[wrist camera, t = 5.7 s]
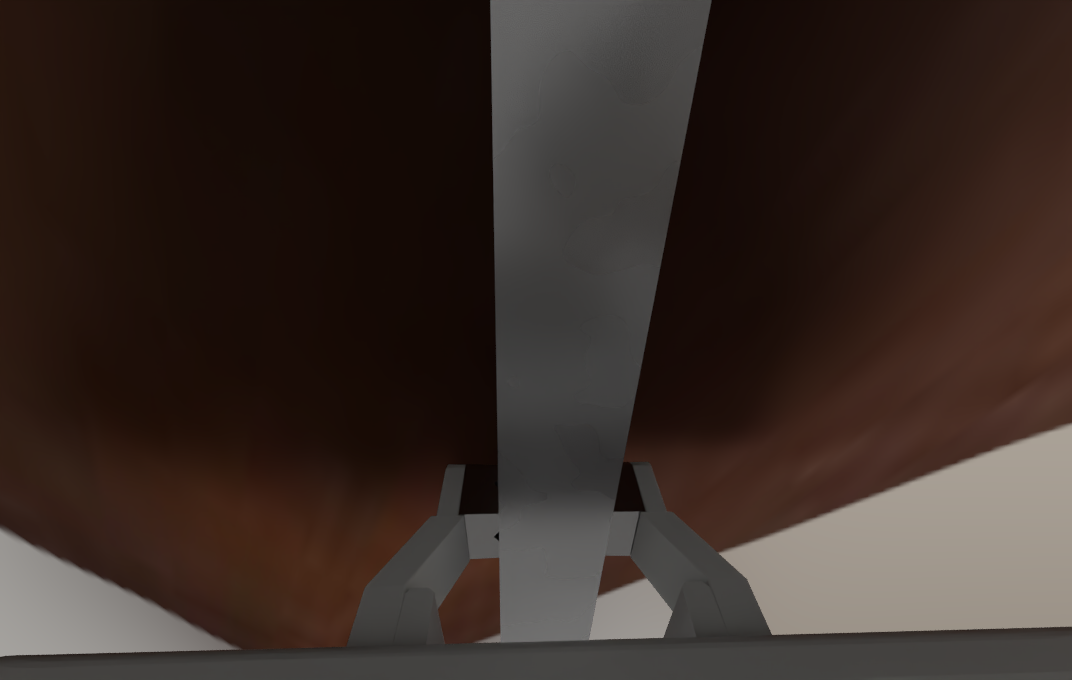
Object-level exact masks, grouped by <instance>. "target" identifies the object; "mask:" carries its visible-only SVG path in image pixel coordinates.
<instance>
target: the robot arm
mask: <svg viewBox="0 0 1072 680" xmlns="http://www.w3.org/2000/svg"><path fill="white" fill-rule="evenodd" d="M605 555H612V556H631V558H632V560H633V561H634V562H635V563H636V565H637V566H638V567H639V569H640V570H641V571H642V572H643V574H644V575H645V576H646V578H647V579H648V580H649V581H650V582H651V584H652V585H653V586H654V588H655V589H656V590H657V592H658V593H659V594H660V595H661V597H662V598H663V599H664V600H665V602H666V603H667V604H668V606H669V607H670V608H671V610H672V611H673V613H672V616H671V619H670V621H669V624H668V627H667V629H666V632H665V635H664V638H648V639H647V638H646V639H612V640H611V639H608V640H572V641H536V642H500V643H464V644H445V643H444V638H443V633H442V629H441V624H440V619H439V614H438V608H439V606H440V605H441V603H442V602H443V600H444V599H445V597H446V596H447V594H448V593H449V591H450V590H451V588H452V587H453V585H454V584H455V582H456V581H457V579H458V578H459V576H460V575H461V573H462V572H463V570H464V568H465V567H466V565H467V564H468V562H469V559H480V558H499V498H498V465H483V464H466V465H463V464H448V466H447V468H446V470H445V476H444V481H443V486H442V491H441V496H440V501H439V506H438V511H437V516H431V517H430V518H429V519H428V520H427V521H426V522H425V523H424V524H423V525H422V526H421V528H420V529H419V530H418V531H417V532H416V533H415V534H414V535H413V536H412V537H411V538H410V539H409V540H408V542H407V543H406V544H405V545H404V546H403V547H402V548H401V549H400V550H399V551H398V552H397V553H396V554H395V556H394V557H393V558H392V559H391V560H390V561H389V562H388V563H387V564H386V565H385V566H384V567H383V568H382V570H381V571H380V572H379V573H378V574H377V575H376V576H375V577H374V578H373V579H372V580H371V581H370V582H369V584H368V585H367V586H366V587H365V589H364V592H363V596H362V599H361V602H360V605H359V608H358V611H357V615H356V618H355V621H354V624H353V627H352V631H351V634H350V637H349V640H348V643H347V646H346V647H319V648H283V649H246V650H210V651H174V652H173V651H172V652H137V653H136V652H134V653H97V654H57V655H16V656H3V657H0V680H1072V627H1049V628H1048V627H1047V628H1046V627H1045V628H1010V629H973V630H938V631H902V632H866V633H832V634H831V633H830V634H794V635H772V634H771V632H770V630H769V627H768V625H767V623H766V621H765V618H764V616H763V614H762V612H761V610H760V607H759V606H758V603H757V601H756V599H755V596H754V594H753V592H752V590H751V587H750V585H749V583H748V581H747V579H746V578H745V577H744V576H743V575H742V574H740V573H739V572H738V571H737V570H736V569H735V568H734V567H733V566H731V564H729V563H728V562H727V561H726V560H725V559H724V558H723V557H722V556H721V555H719V554H718V553H717V552H716V551H715V550H714V549H713V548H712V547H711V546H710V545H708V544H707V543H706V542H705V541H704V540H703V539H702V538H701V537H700V536H698V535H697V534H696V533H695V532H694V531H693V530H692V529H691V528H690V527H689V526H687V525H686V524H685V523H684V522H683V521H682V520H681V519H680V518H679V517H677V516H676V515H675V514H674V513H673V512H667V510H666V508H665V505H664V502H663V499H662V496H661V493H660V490H659V487H658V484H657V481H656V479H655V476H654V473H653V470H652V467H651V465H650V463H649V462H623V464H622V469H621V475H620V480H619V485H618V490H617V495H616V501H615V506H614V511H613V516H612V521H611V527H610V532H609V537H608V542H607V547H606V553H605Z"/></svg>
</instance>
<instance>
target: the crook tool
mask: <svg viewBox="0 0 1072 680" xmlns="http://www.w3.org/2000/svg"><path fill="white" fill-rule="evenodd" d="M711 1H712V0H490V9H491V70H492V131H493V192H494V254H495V315H496V376H497V437H498V498H499V559H500V620H501V642H536V641H572V640H589V636H590V631H591V625H592V620H593V615H594V610H595V605H596V600H597V594H598V589H599V584H600V579H601V573H602V568H603V563H604V558H605V553H606V547H607V542H608V537H609V532H610V527H611V521H612V516H613V511H614V506H615V501H616V495H617V490H618V485H619V480H620V475H621V469H622V464H623V459H624V454H625V448H626V443H627V438H628V433H629V428H630V422H631V417H632V412H633V407H634V402H635V396H636V391H637V386H638V381H639V376H640V370H641V365H642V360H643V355H644V350H645V344H646V339H647V334H648V329H649V324H650V318H651V313H652V308H653V303H654V297H655V292H656V287H657V282H658V277H659V271H660V266H661V261H662V256H663V251H664V245H665V240H666V235H667V230H668V225H669V219H670V214H671V209H672V204H673V199H674V193H675V188H676V183H677V178H678V172H679V167H680V162H681V157H682V152H683V146H684V141H685V136H686V131H687V126H688V120H689V115H690V110H691V105H692V100H693V94H694V89H695V84H696V79H697V74H698V68H699V63H700V58H701V53H702V47H703V42H704V37H705V32H706V27H707V21H708V16H709V11H710V6H711Z"/></svg>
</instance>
